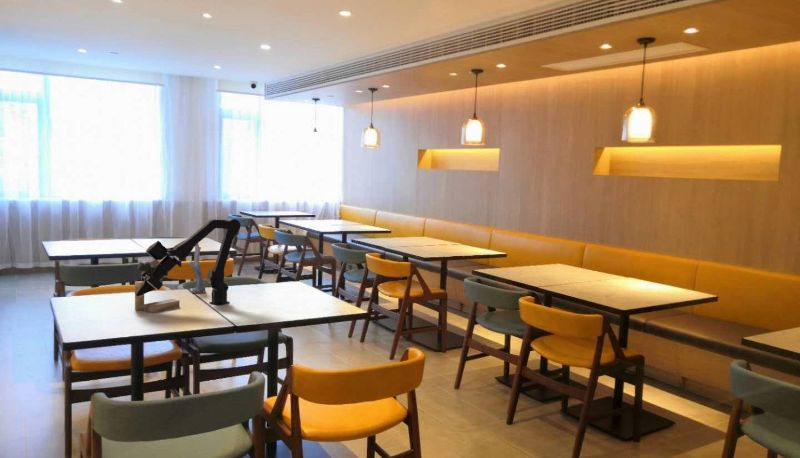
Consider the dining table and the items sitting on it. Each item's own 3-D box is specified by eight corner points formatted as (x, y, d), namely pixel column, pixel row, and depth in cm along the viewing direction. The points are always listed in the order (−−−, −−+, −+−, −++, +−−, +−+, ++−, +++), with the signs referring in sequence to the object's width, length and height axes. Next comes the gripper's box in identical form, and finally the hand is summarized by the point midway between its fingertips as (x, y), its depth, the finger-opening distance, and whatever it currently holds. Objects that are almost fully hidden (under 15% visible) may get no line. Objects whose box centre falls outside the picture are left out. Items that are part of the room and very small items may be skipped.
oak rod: (146, 309, 245) (146, 281, 244) (138, 311, 242) (138, 283, 241) (140, 308, 247) (140, 280, 246) (133, 310, 244) (133, 282, 243)
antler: (206, 293, 283) (206, 243, 281) (189, 294, 280) (189, 243, 278) (204, 289, 293) (205, 240, 291) (188, 289, 290) (188, 240, 288)
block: (179, 307, 252) (179, 300, 252) (151, 312, 240) (151, 305, 240) (171, 305, 255) (171, 298, 254) (144, 311, 243) (144, 304, 242)
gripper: (145, 252, 253) (118, 278, 248) (153, 258, 237) (124, 286, 232) (165, 269, 258) (138, 295, 253) (173, 275, 242) (145, 303, 237)
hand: (136, 294), depth 243 cm, fingers closed on oak rod, 4 cm apart
